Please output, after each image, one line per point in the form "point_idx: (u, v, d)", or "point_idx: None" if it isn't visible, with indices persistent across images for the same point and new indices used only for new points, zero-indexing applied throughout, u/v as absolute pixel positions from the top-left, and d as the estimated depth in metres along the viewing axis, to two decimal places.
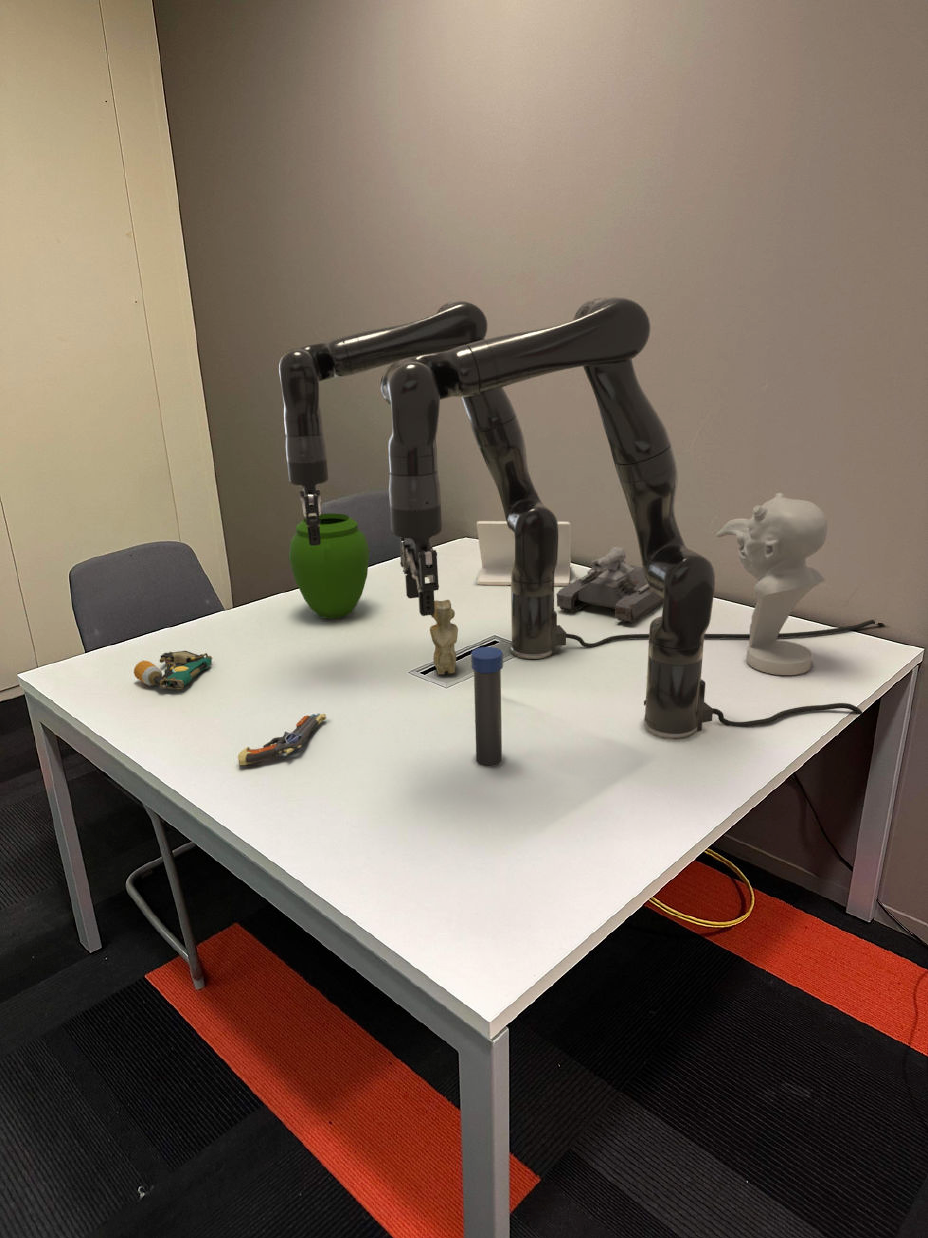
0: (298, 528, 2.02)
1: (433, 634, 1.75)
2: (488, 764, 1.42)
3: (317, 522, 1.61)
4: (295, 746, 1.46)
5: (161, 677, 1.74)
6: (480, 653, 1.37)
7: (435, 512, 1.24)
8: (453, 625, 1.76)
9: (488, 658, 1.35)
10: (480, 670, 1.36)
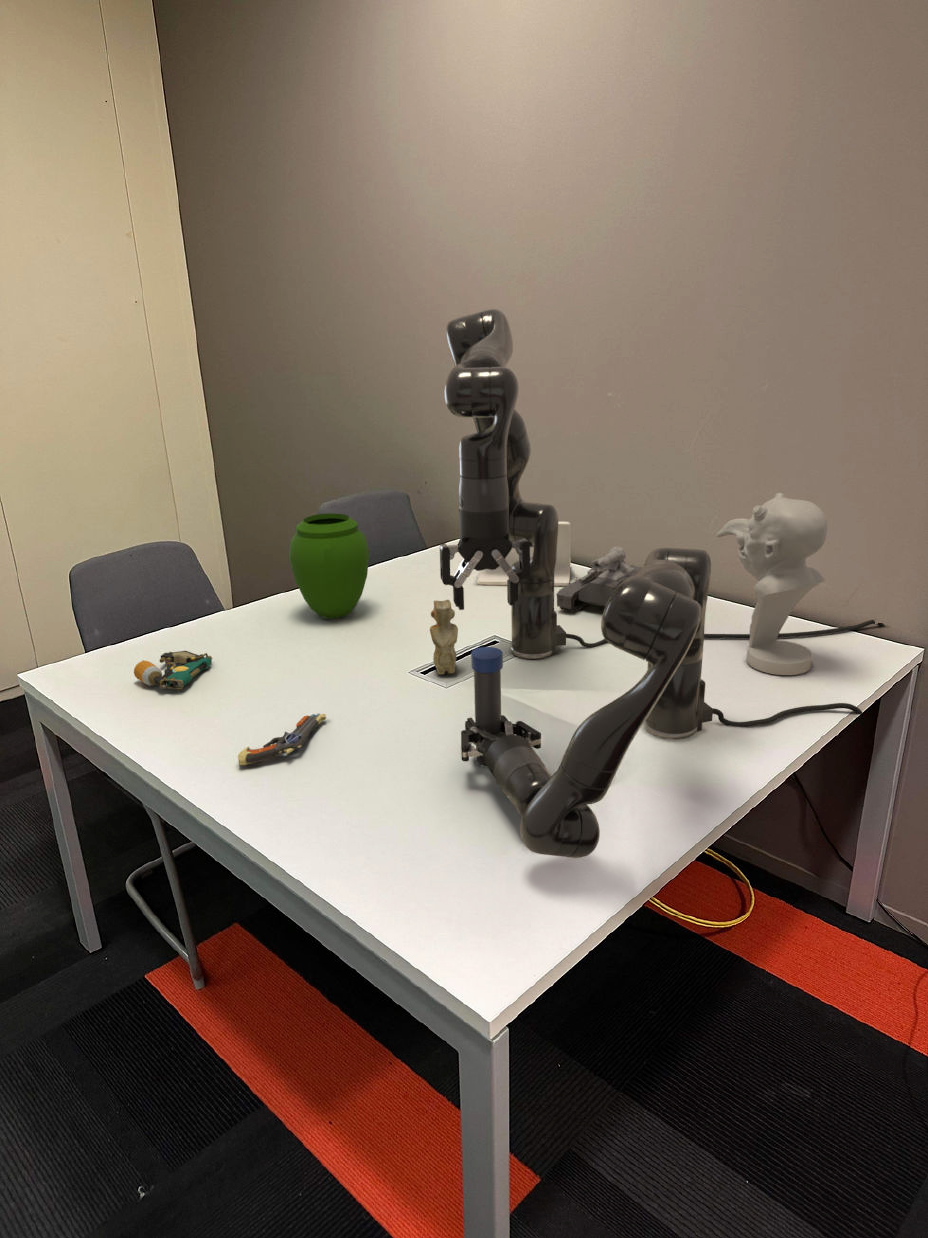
0: (298, 528, 2.02)
1: (433, 634, 1.75)
2: None
3: None
4: (295, 746, 1.46)
5: (161, 677, 1.74)
6: (480, 653, 1.37)
7: None
8: (453, 625, 1.76)
9: (488, 658, 1.35)
10: (480, 670, 1.36)
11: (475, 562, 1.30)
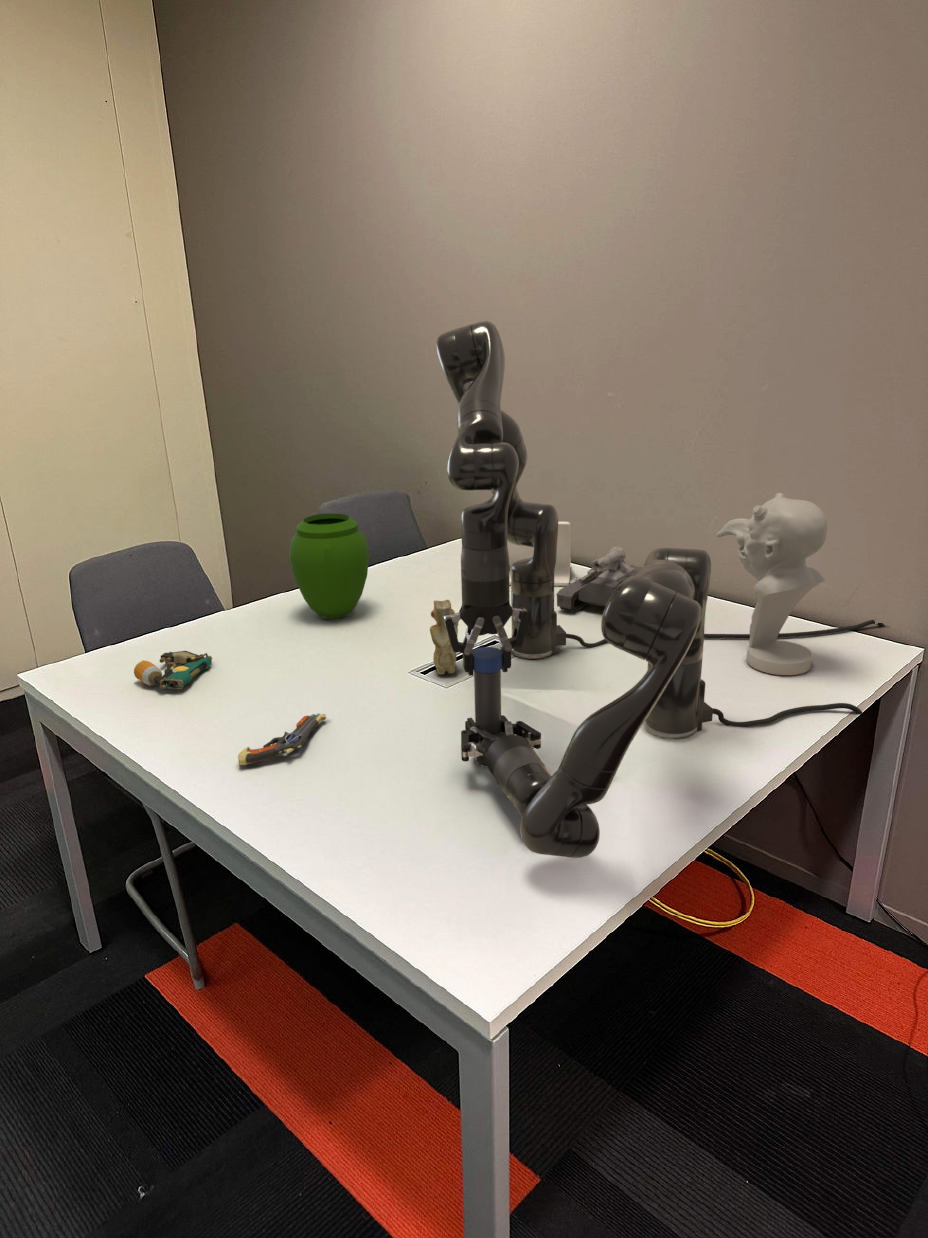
0: (298, 528, 2.02)
1: (433, 634, 1.75)
2: None
3: None
4: (295, 746, 1.46)
5: (161, 677, 1.74)
6: (480, 653, 1.37)
7: None
8: None
9: (488, 658, 1.35)
10: (480, 670, 1.36)
11: (477, 628, 1.34)
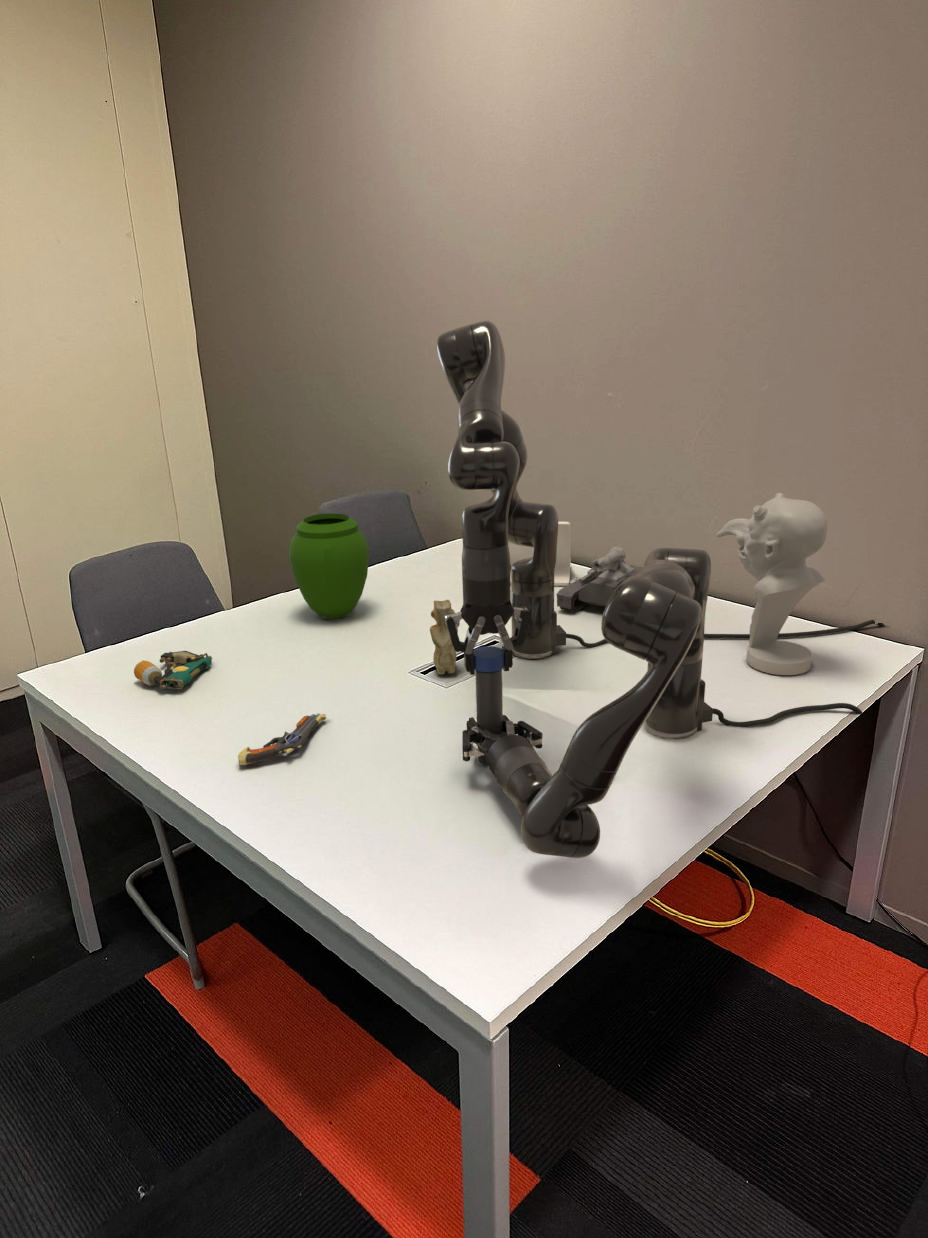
0: (298, 528, 2.02)
1: (433, 634, 1.75)
2: None
3: None
4: (295, 746, 1.46)
5: (161, 677, 1.74)
6: (487, 654, 1.37)
7: (535, 750, 1.30)
8: None
9: (502, 652, 1.37)
10: (500, 667, 1.37)
11: (478, 627, 1.34)
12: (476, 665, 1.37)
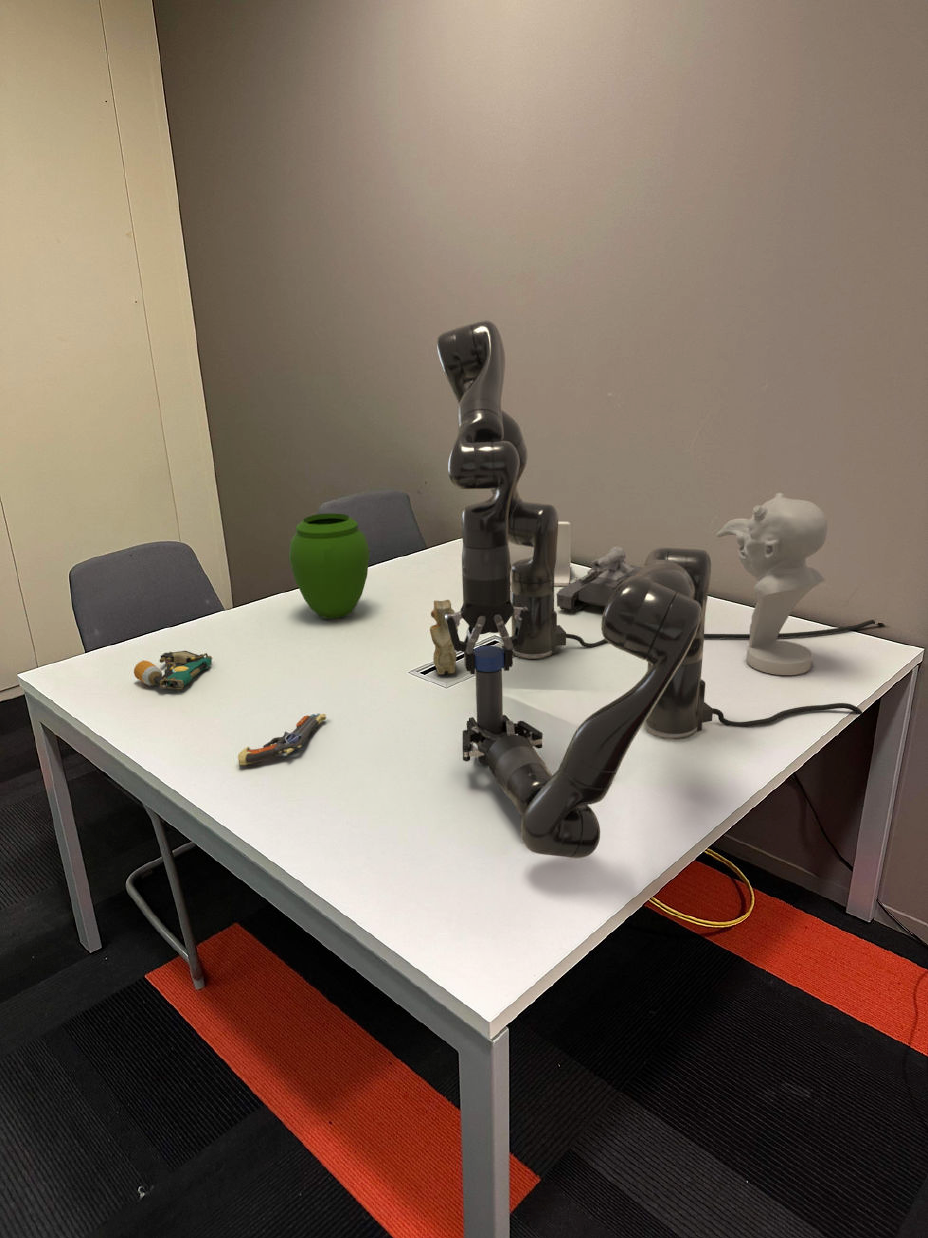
0: (298, 528, 2.02)
1: (433, 634, 1.75)
2: None
3: None
4: (295, 746, 1.46)
5: (161, 677, 1.74)
6: (494, 652, 1.37)
7: (535, 750, 1.30)
8: None
9: (494, 646, 1.39)
10: None
11: (478, 626, 1.34)
12: (495, 666, 1.36)
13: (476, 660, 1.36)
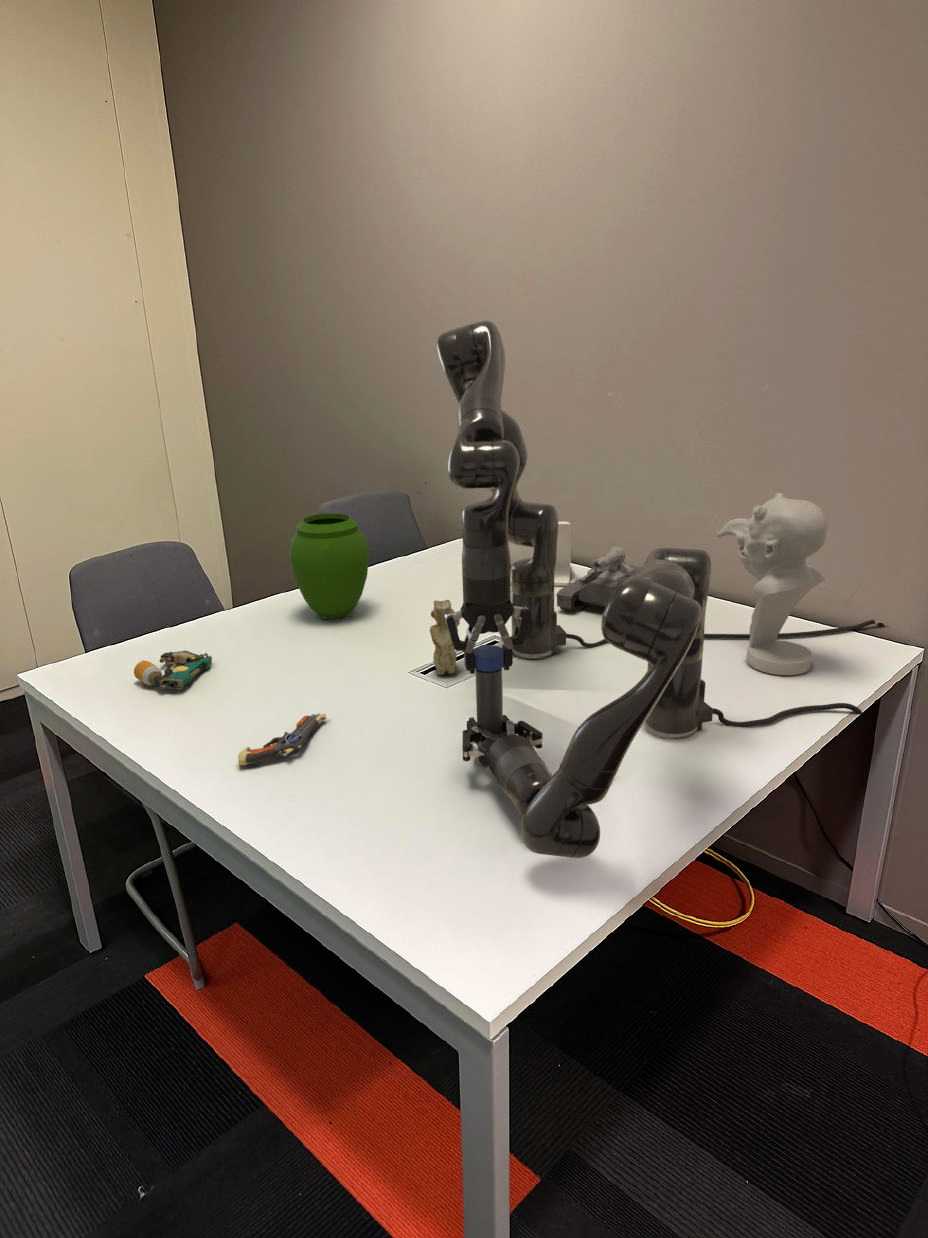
0: (298, 528, 2.02)
1: (433, 634, 1.75)
2: None
3: None
4: (295, 746, 1.46)
5: (161, 677, 1.74)
6: (492, 649, 1.38)
7: (535, 750, 1.30)
8: None
9: (477, 648, 1.39)
10: None
11: (478, 626, 1.34)
12: None
13: (495, 661, 1.36)
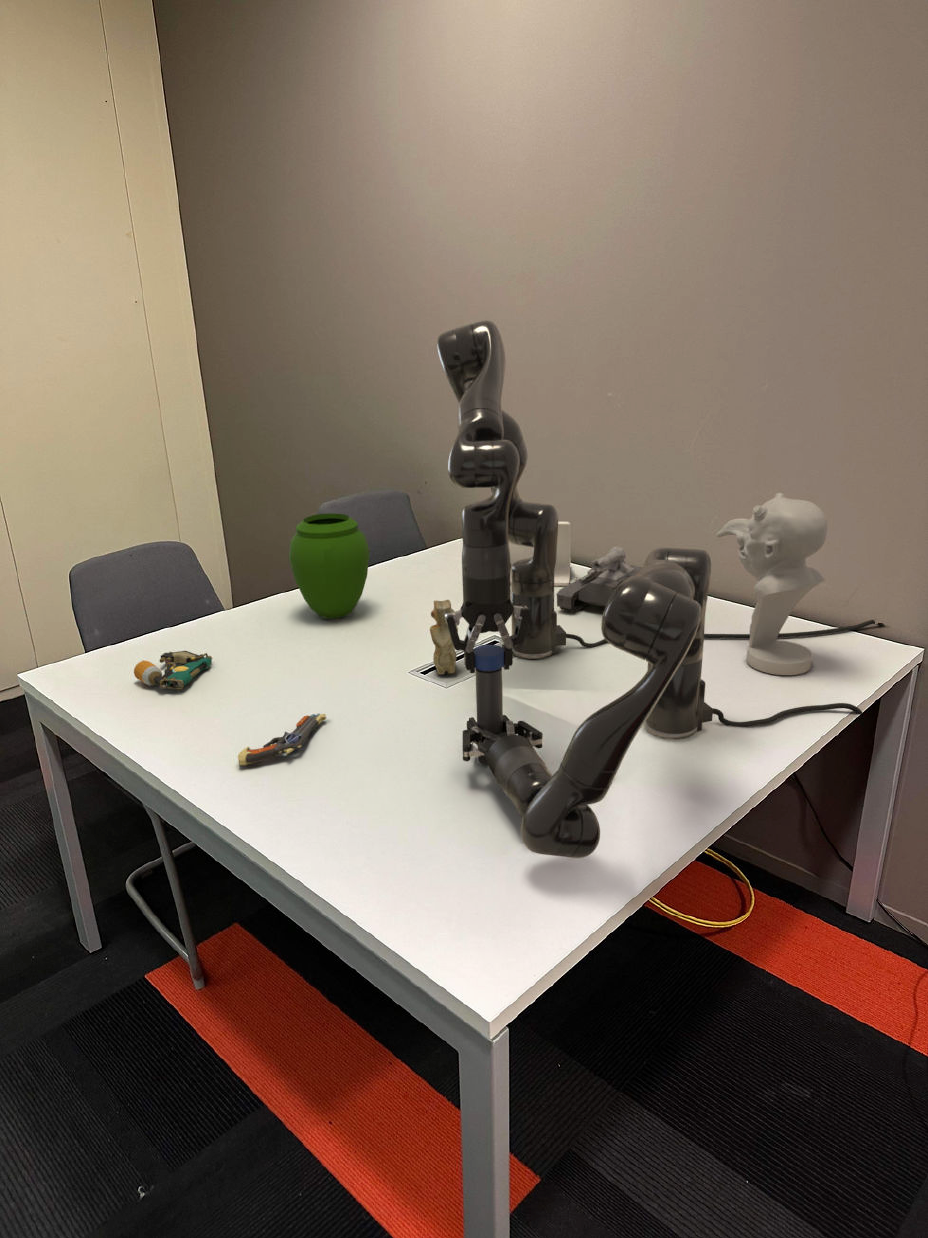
0: (298, 528, 2.02)
1: (433, 634, 1.75)
2: None
3: None
4: (295, 746, 1.46)
5: (161, 677, 1.74)
6: (484, 648, 1.38)
7: (535, 750, 1.30)
8: None
9: (476, 654, 1.36)
10: None
11: (478, 625, 1.34)
12: None
13: None
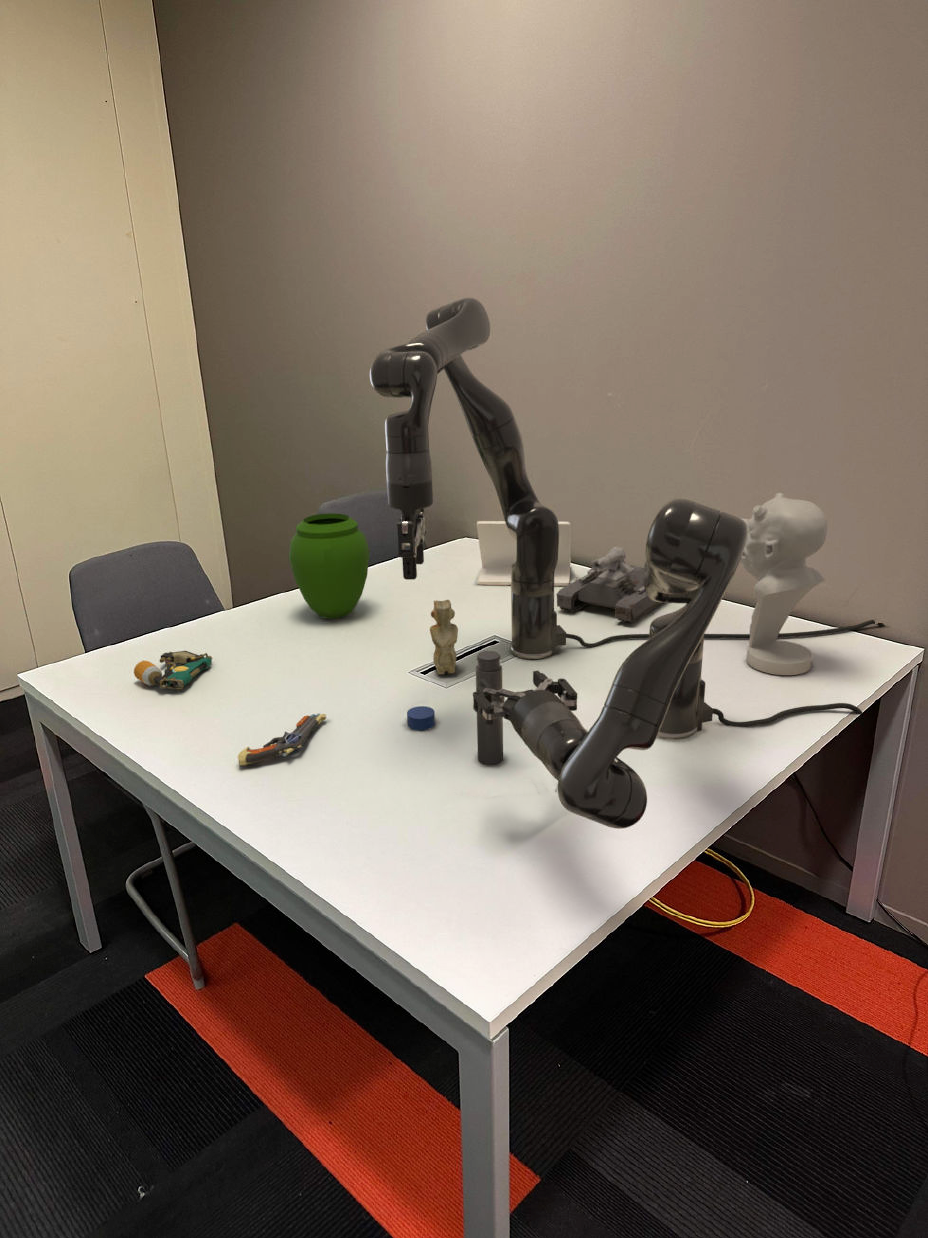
0: (298, 528, 2.02)
1: (433, 634, 1.75)
2: (489, 763, 1.43)
3: None
4: (295, 746, 1.46)
5: (161, 677, 1.74)
6: (415, 713, 1.56)
7: None
8: (453, 625, 1.76)
9: (424, 717, 1.55)
10: (417, 728, 1.55)
11: (420, 530, 1.42)
12: None
13: None
